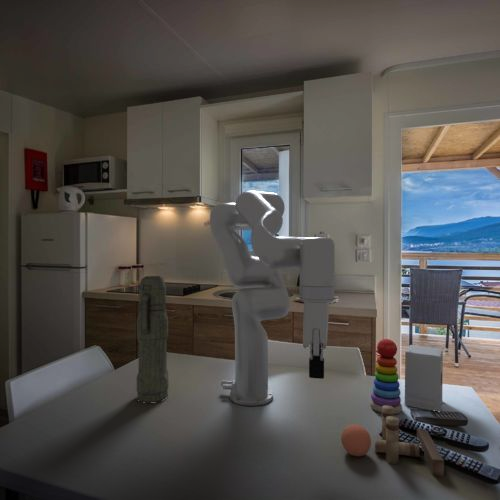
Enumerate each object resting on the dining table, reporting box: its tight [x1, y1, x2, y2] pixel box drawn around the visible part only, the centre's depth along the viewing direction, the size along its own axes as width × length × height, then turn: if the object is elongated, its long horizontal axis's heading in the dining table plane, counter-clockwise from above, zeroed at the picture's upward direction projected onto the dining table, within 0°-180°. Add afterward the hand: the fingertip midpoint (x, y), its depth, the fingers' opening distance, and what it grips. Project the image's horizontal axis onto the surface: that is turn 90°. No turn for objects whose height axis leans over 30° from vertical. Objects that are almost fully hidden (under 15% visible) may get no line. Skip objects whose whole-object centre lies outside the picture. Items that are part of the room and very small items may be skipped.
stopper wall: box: [416, 428, 445, 477], centre depth 75 cm, size 2×12×3 cm, turn 168°
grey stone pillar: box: [136, 275, 169, 403], centre depth 105 cm, size 9×12×35 cm
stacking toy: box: [369, 338, 403, 415], centre depth 97 cm, size 8×8×19 cm
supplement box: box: [404, 344, 444, 412], centre depth 101 cm, size 9×9×15 cm
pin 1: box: [381, 405, 395, 440], centre depth 79 cm, size 2×2×8 cm
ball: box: [340, 423, 372, 457], centre depth 76 cm, size 6×6×6 cm
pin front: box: [374, 438, 421, 458], centre depth 76 cm, size 2×2×8 cm
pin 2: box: [385, 416, 400, 465], centre depth 74 cm, size 2×2×8 cm
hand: (316, 376), depth 79 cm, fingers closed
